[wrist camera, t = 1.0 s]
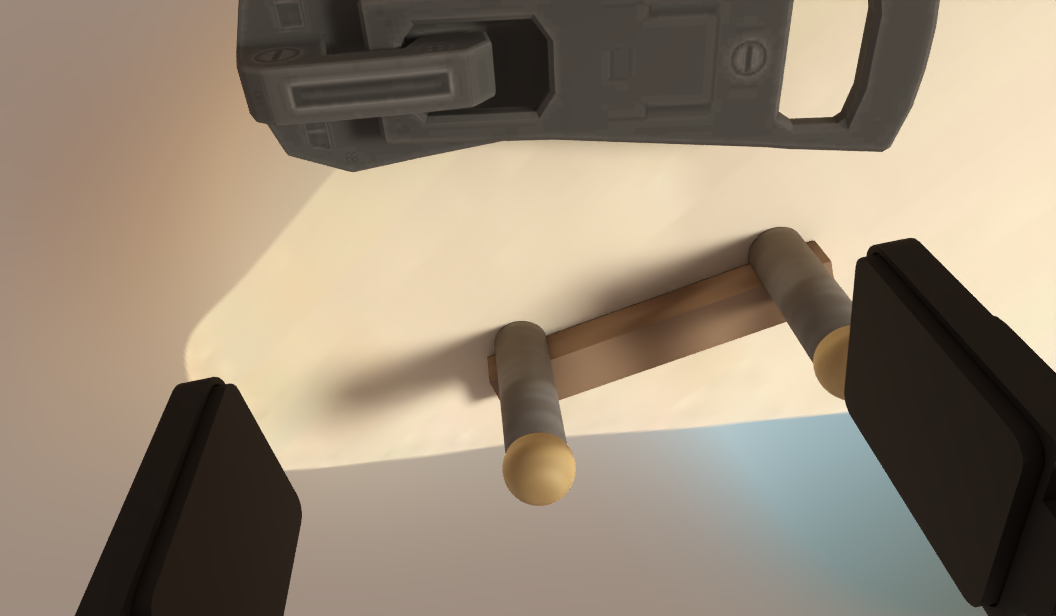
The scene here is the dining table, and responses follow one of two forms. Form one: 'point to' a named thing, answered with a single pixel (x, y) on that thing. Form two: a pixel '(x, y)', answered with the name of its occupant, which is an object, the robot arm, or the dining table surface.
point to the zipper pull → (556, 74)
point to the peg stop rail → (659, 349)
